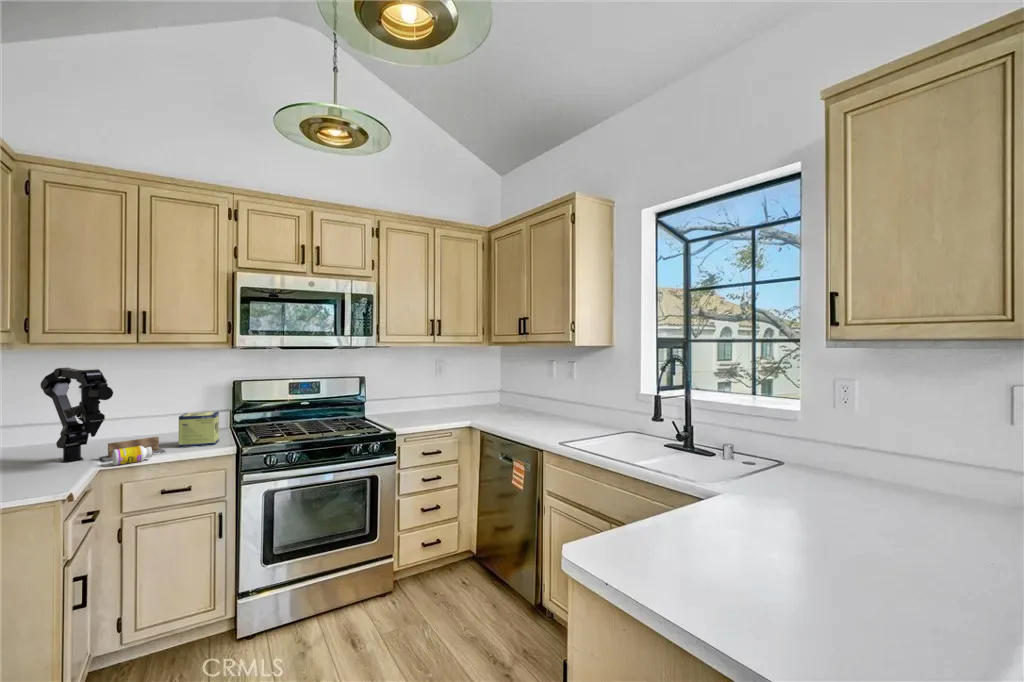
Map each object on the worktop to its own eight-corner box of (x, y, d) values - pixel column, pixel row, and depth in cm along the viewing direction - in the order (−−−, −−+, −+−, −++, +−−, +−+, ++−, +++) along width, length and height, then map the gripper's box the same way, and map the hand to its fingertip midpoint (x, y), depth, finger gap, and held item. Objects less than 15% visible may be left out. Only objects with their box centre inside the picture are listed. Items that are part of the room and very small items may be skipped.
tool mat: (99, 459, 208) (99, 456, 208) (159, 449, 226) (159, 447, 226) (104, 462, 204) (104, 459, 203) (165, 452, 221) (165, 450, 221)
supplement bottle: (116, 458, 196) (153, 452, 206) (113, 446, 199) (150, 441, 209) (113, 468, 199) (151, 462, 208) (111, 456, 202) (148, 450, 212)
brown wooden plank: (109, 457, 207) (109, 444, 207) (108, 456, 208) (107, 443, 208) (158, 450, 221) (158, 437, 221) (157, 449, 223) (157, 436, 223)
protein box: (215, 445, 235) (215, 414, 235) (177, 448, 229) (177, 416, 229) (219, 441, 245) (219, 411, 245) (183, 443, 239) (183, 412, 239)
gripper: (60, 398, 201) (60, 435, 202) (69, 403, 190) (69, 441, 190) (94, 396, 210) (94, 431, 210) (104, 400, 198) (105, 437, 199)
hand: (90, 435), depth 202 cm, fingers open, 9 cm apart
